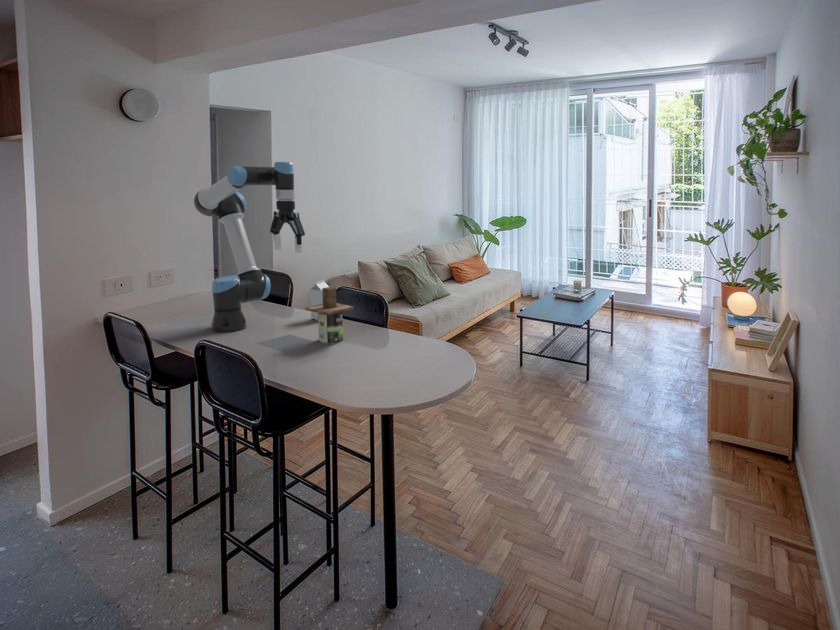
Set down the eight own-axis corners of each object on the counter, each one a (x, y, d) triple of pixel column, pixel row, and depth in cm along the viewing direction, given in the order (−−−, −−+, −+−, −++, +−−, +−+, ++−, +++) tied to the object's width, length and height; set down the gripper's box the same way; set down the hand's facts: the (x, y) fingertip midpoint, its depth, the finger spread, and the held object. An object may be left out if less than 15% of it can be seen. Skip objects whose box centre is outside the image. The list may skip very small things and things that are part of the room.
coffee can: (346, 339, 235) (345, 307, 231) (338, 346, 225) (337, 312, 222) (324, 337, 237) (322, 305, 233) (315, 344, 227) (313, 311, 224)
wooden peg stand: (305, 309, 226) (304, 288, 224) (330, 304, 237) (329, 283, 235) (329, 315, 218) (328, 293, 216) (353, 308, 229) (353, 287, 226)
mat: (256, 344, 226) (256, 343, 226) (289, 335, 239) (289, 334, 239) (282, 352, 216) (282, 351, 216) (315, 342, 229) (315, 341, 229)
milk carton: (331, 318, 269) (330, 280, 265) (323, 321, 263) (322, 282, 259) (319, 316, 272) (318, 279, 268) (311, 319, 266) (309, 281, 261)
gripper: (259, 199, 233) (262, 249, 238) (297, 201, 217) (300, 254, 223) (274, 199, 238) (276, 247, 243) (312, 200, 223) (314, 252, 228)
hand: (288, 251), depth 233 cm, fingers open, 13 cm apart
